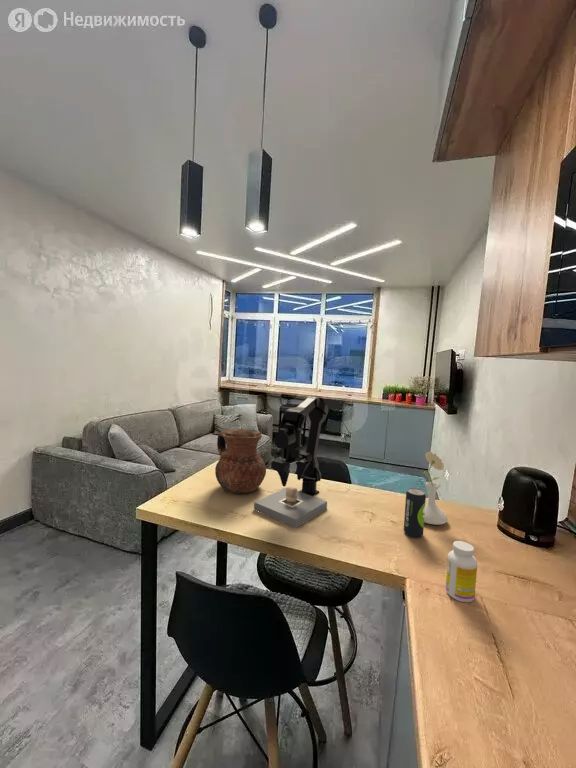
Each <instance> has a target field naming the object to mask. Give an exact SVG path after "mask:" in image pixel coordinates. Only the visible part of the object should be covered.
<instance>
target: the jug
mask: <svg viewBox="0 0 576 768" xmlns="http://www.w3.org/2000/svg"><path fill="white" fill-rule="evenodd" d="M262 437H263V435H262V431H260V430H258V431H257V430H255V431H252V430H249V429H247V428H246V429H245V428H244V429H243V428H234V429H226V430H223V431H220V432H219V433H218V435H217V439H216V440H217V442H216V446H217V452H218V454H219V460H218V462H216V465H215V468H214V469H215V471H214V473H215V478H216V481H217V482H218V484H219V485H220V486H221V488H222V489H224V490H225V491H226V492H229V493H230V492H232V493H231V494H249V493H252V492H254V491H255V490H257V489H259V487H260V486H261V485H262V483H263V481H264V479H265V477H266V475H267V466H266V464H265V462H264V459H263V458H262V457H261V456H260V455H259V454H258V452H257V449H258V443H259V442H260V440H261V439H262ZM248 492H249V493H248Z"/></svg>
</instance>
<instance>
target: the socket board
mask: <svg viewBox="0 0 576 768" xmlns="http://www.w3.org/2000/svg"><path fill="white" fill-rule="evenodd" d="M288 487H289V486H287V487H285V488H283V489H279V490H278V491H276V492H274V493H271V494H269V495H267V496H265V497H262V498H260V499H258V500H256V501H253V510H254V509H255V510H254V511H256V510H257V511H256V512H258V511H259V512H258V513H260V512H261V513H260V514H262V513H263V515H265V516H267V517H268V518H272V519H275V520H277V521H279V522H281V523H283V524H285V525H288V526H290V527H293V528H295V529H297V528H298V527H300V526H301V525H303V524H305V523H306V522H307V521H309V520H311V519H312V518H314V517H316V516H317V515H319V514H320V513H322V512H324V511H326V510H327V509H328V501H327V500H326V499H325V500H324V499H322V498H319V497H316V496H315V495H313V496H311V495H308V494H305V493H302V492H299V491H300V490H297V501H296V502H295V505H293V506H291V505H289V504H287V502H286V488H288Z"/></svg>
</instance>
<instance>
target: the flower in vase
mask: <svg viewBox="0 0 576 768" xmlns="http://www.w3.org/2000/svg"><path fill="white" fill-rule="evenodd" d="M424 455H425V459H426V461H427V462H428V463H429V465H430V466H429V469H428V472H427V471H426V470H424V471H423V472H422V474H423V475H425V476H426V477H427V478H429V480H430V481H426V482H425V485H426V487H427V491H428V500H427V503H426V502H425V515H424V524H425V523H426V524H429V525H436V526H437V525H444V524H446V523H447V522H448V516H447V514H446V513H445V512H444V511H443V510H442V509H440V508H441V507H438V505H437V504H436V495H437V491H438V490H439V488H440V487H441V484H440V483H438V482H434V481H435V480H438V479H439V477H437V476H436V477H433V478H432V479H431V475H430V472H431V471H430V470H431V468H432V467H433V468H434V469H436V470H437V471H443V470H444V463H443V462H442V461H443V460H442V458H440V457H439V456H437V454H436V453H433V452H432V451H428V452H427V451H426V452H425V454H424Z"/></svg>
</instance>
